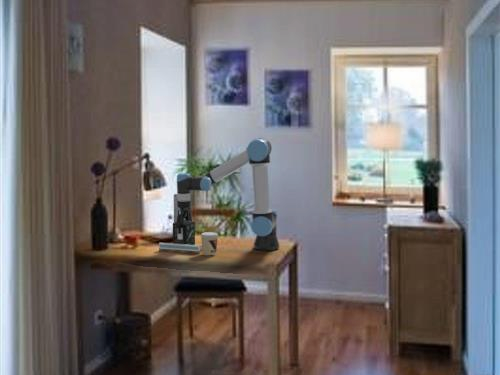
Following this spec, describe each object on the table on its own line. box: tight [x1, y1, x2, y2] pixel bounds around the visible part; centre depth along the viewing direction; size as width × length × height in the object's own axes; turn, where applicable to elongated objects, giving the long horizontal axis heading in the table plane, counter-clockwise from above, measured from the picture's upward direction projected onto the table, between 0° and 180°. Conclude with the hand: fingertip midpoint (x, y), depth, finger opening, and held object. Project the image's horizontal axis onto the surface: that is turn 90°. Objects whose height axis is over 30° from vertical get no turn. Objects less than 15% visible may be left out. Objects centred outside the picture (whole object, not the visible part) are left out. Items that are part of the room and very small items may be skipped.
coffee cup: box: [200, 231, 219, 256], centre depth 371 cm, size 9×9×12 cm
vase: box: [173, 193, 191, 223], centre depth 415 cm, size 10×10×27 cm
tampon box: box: [172, 220, 196, 245], centre depth 383 cm, size 11×9×15 cm
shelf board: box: [158, 245, 202, 254], centre depth 382 cm, size 24×14×2 cm, turn 75°
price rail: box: [158, 242, 200, 251], centre depth 376 cm, size 24×1×3 cm, turn 75°
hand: (184, 236), depth 383 cm, fingers open, 13 cm apart
